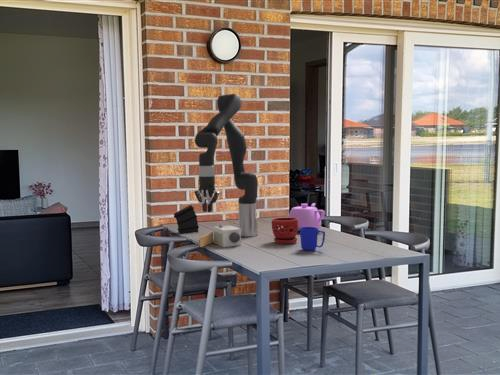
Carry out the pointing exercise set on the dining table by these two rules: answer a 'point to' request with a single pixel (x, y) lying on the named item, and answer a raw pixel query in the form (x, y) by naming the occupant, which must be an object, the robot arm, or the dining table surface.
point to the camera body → (227, 235)
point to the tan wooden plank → (206, 239)
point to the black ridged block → (187, 220)
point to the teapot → (307, 216)
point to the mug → (310, 238)
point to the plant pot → (285, 230)
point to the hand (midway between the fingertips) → (207, 211)
